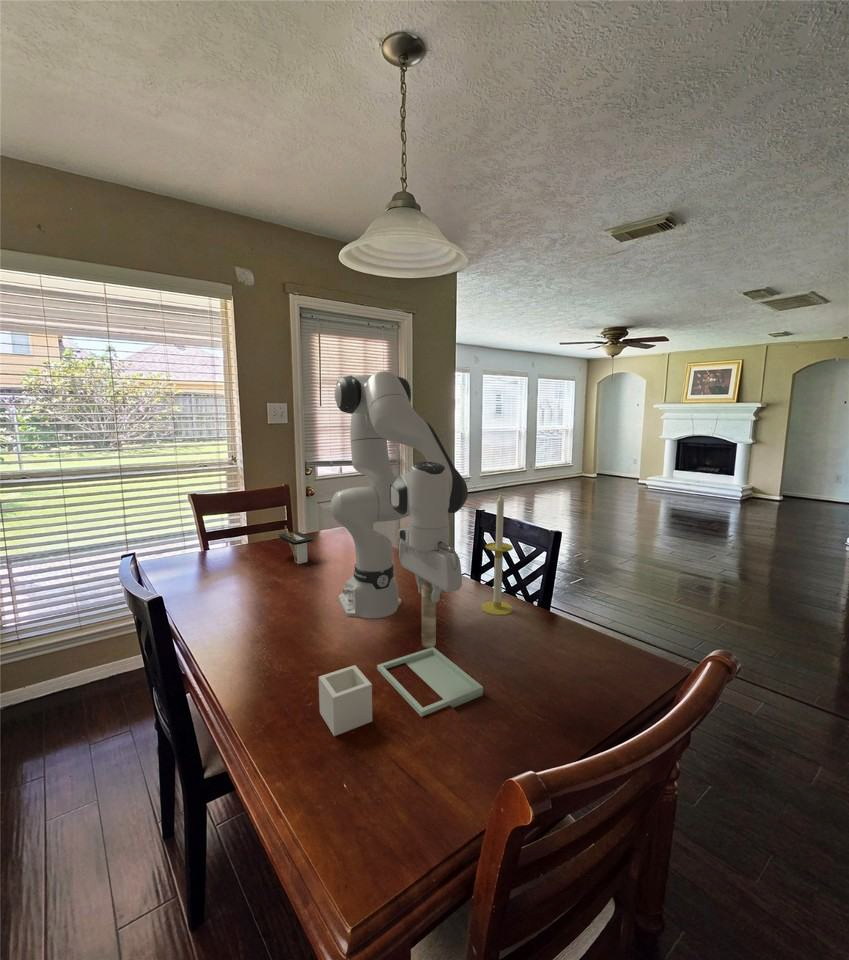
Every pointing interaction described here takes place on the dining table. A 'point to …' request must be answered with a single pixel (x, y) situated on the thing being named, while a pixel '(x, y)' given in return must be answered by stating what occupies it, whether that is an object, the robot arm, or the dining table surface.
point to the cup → (345, 699)
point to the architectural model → (297, 544)
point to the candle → (498, 566)
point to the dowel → (428, 617)
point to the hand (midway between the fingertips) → (428, 597)
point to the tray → (435, 680)
